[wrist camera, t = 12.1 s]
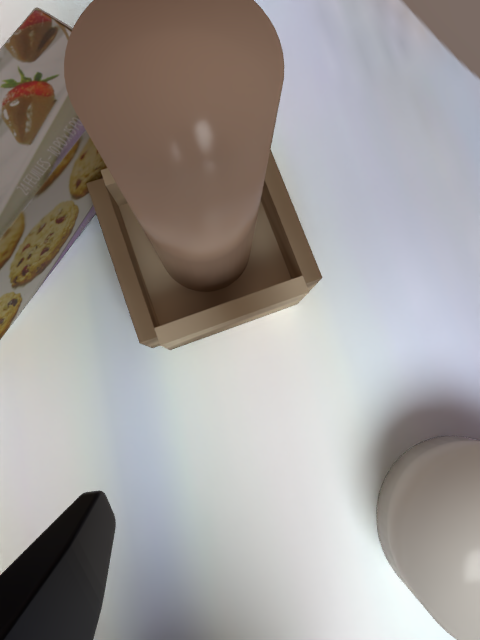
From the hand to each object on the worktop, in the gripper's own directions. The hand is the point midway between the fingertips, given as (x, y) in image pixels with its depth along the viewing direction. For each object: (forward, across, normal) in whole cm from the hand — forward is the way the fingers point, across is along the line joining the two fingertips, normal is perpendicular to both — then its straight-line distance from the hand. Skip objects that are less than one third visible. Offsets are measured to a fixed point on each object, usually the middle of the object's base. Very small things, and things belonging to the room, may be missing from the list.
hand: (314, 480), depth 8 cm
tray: (+14, +3, -2) cm, 15 cm away
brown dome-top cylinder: (+14, +3, -2) cm, 14 cm away
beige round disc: (+8, -7, +12) cm, 16 cm away
